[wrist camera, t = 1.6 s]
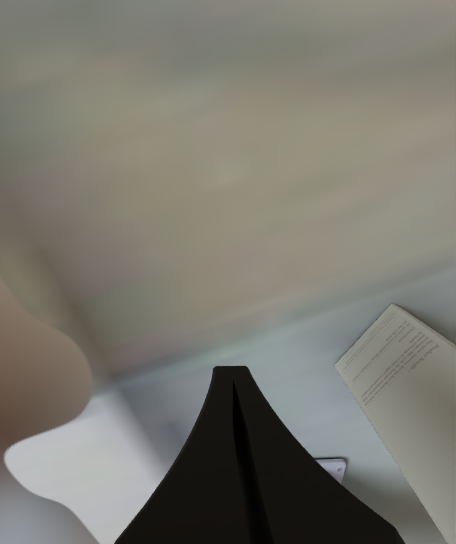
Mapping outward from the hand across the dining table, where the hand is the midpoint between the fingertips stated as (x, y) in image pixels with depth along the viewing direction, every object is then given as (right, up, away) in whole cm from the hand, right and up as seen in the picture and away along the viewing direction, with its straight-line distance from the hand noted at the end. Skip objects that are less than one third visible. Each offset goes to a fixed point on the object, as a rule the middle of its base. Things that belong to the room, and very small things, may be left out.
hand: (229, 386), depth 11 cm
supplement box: (+14, -2, +12) cm, 19 cm away
